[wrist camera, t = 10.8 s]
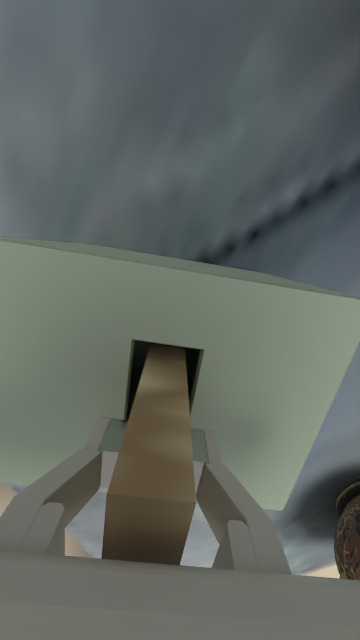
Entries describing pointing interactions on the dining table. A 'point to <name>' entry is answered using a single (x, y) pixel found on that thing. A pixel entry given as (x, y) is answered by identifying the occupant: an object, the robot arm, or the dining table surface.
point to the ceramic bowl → (348, 533)
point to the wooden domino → (153, 468)
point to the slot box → (169, 330)
